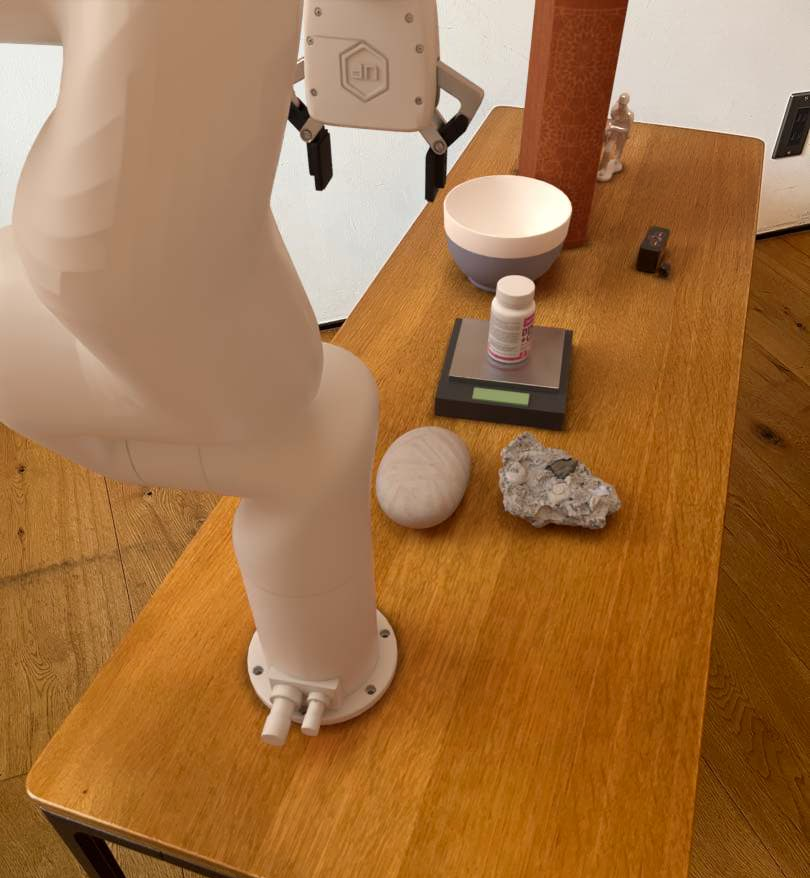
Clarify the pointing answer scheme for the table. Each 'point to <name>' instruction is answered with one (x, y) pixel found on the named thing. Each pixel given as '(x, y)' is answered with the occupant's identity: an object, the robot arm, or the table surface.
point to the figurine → (616, 137)
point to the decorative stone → (423, 477)
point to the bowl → (505, 227)
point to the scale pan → (527, 374)
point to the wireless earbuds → (654, 251)
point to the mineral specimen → (552, 486)
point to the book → (570, 99)
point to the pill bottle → (512, 319)
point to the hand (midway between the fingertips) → (377, 189)
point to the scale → (502, 396)
